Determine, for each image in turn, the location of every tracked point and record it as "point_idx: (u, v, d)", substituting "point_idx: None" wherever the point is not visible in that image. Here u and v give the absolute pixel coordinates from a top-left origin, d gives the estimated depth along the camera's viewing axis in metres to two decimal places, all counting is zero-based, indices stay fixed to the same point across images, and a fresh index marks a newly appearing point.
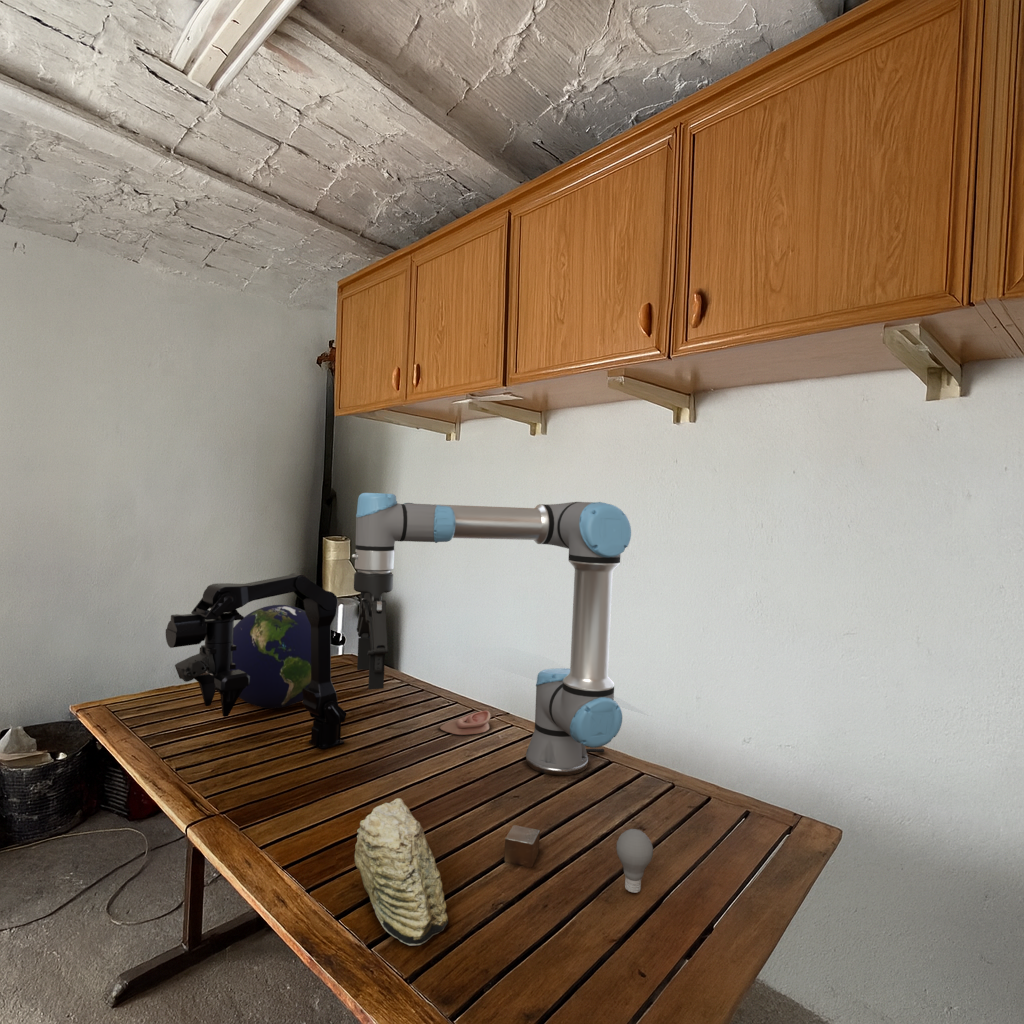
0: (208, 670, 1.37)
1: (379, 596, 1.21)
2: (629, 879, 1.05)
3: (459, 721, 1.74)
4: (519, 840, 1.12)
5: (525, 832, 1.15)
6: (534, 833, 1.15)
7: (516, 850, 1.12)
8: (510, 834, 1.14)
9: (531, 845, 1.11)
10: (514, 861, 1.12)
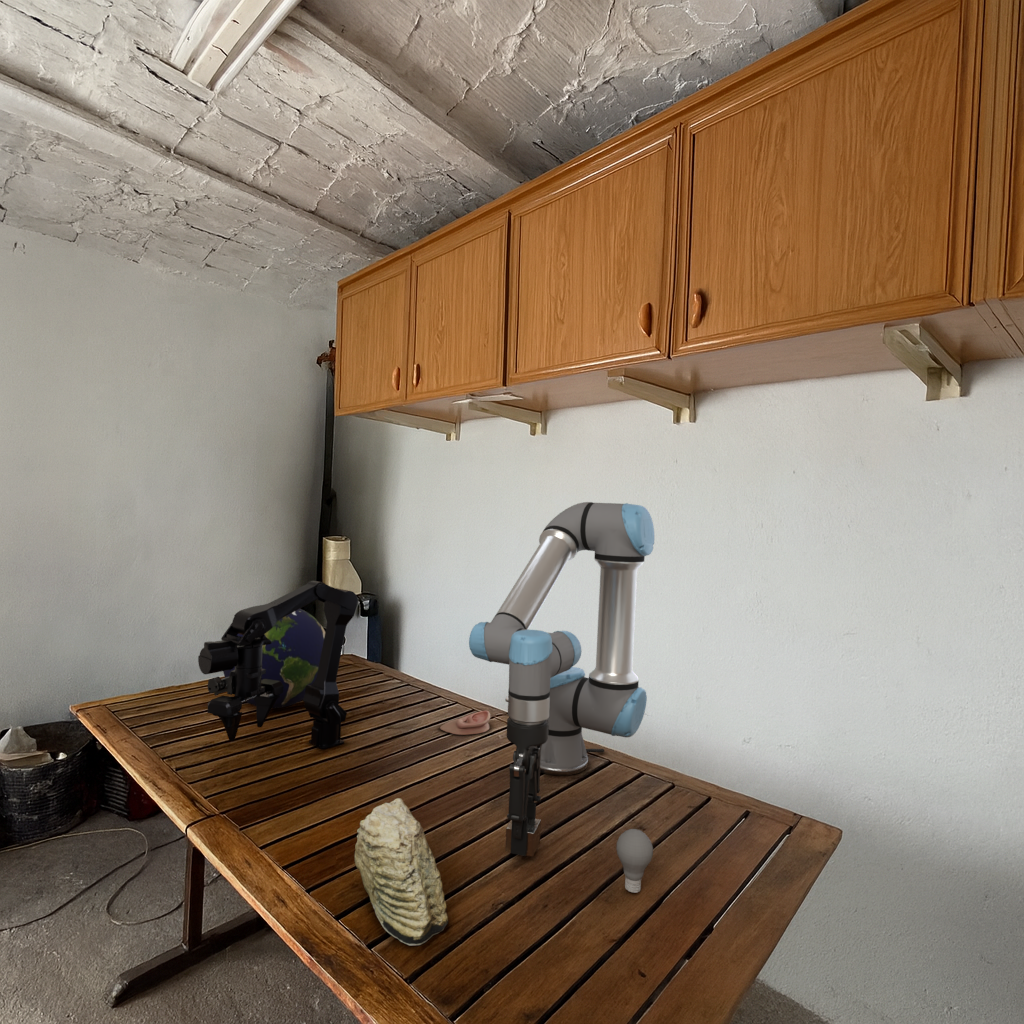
0: None
1: (524, 750, 1.10)
2: (629, 879, 1.05)
3: (459, 721, 1.74)
4: None
5: None
6: (535, 822, 1.15)
7: None
8: (511, 824, 1.14)
9: (532, 834, 1.11)
10: None
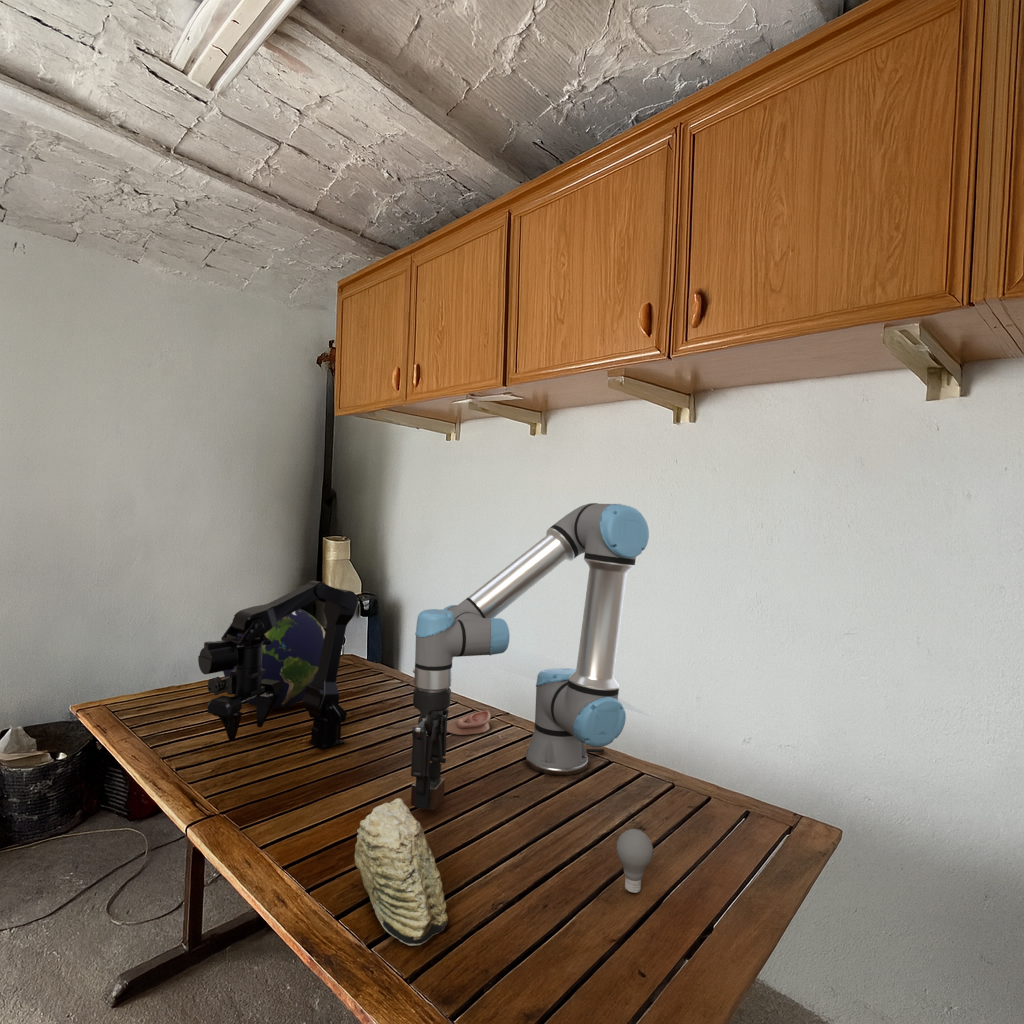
0: None
1: (426, 715, 1.24)
2: (629, 879, 1.05)
3: (459, 721, 1.74)
4: None
5: (430, 780, 1.29)
6: (439, 781, 1.29)
7: None
8: None
9: (434, 790, 1.25)
10: None
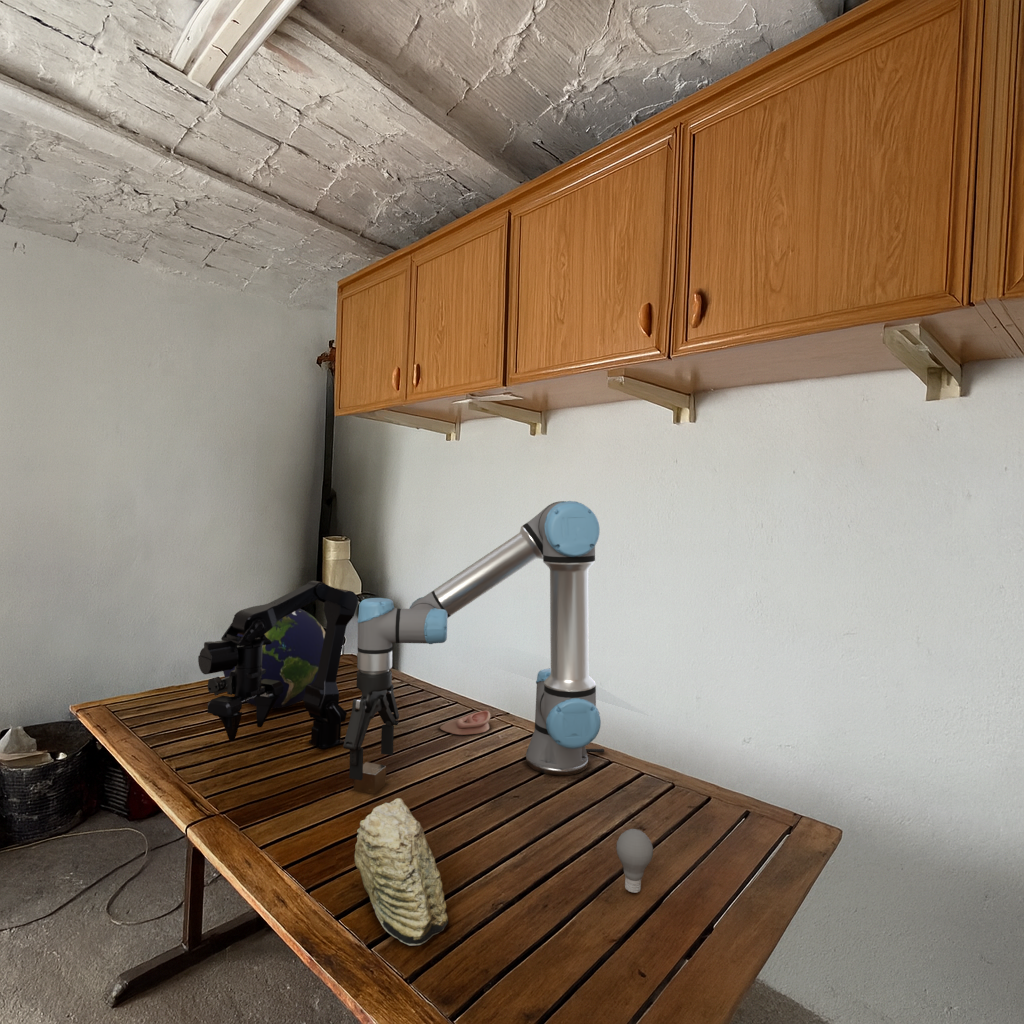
0: None
1: (367, 694, 1.35)
2: (629, 879, 1.05)
3: (459, 721, 1.74)
4: (365, 772, 1.37)
5: (373, 767, 1.40)
6: (380, 767, 1.39)
7: (363, 780, 1.37)
8: None
9: (374, 776, 1.36)
10: (361, 789, 1.37)
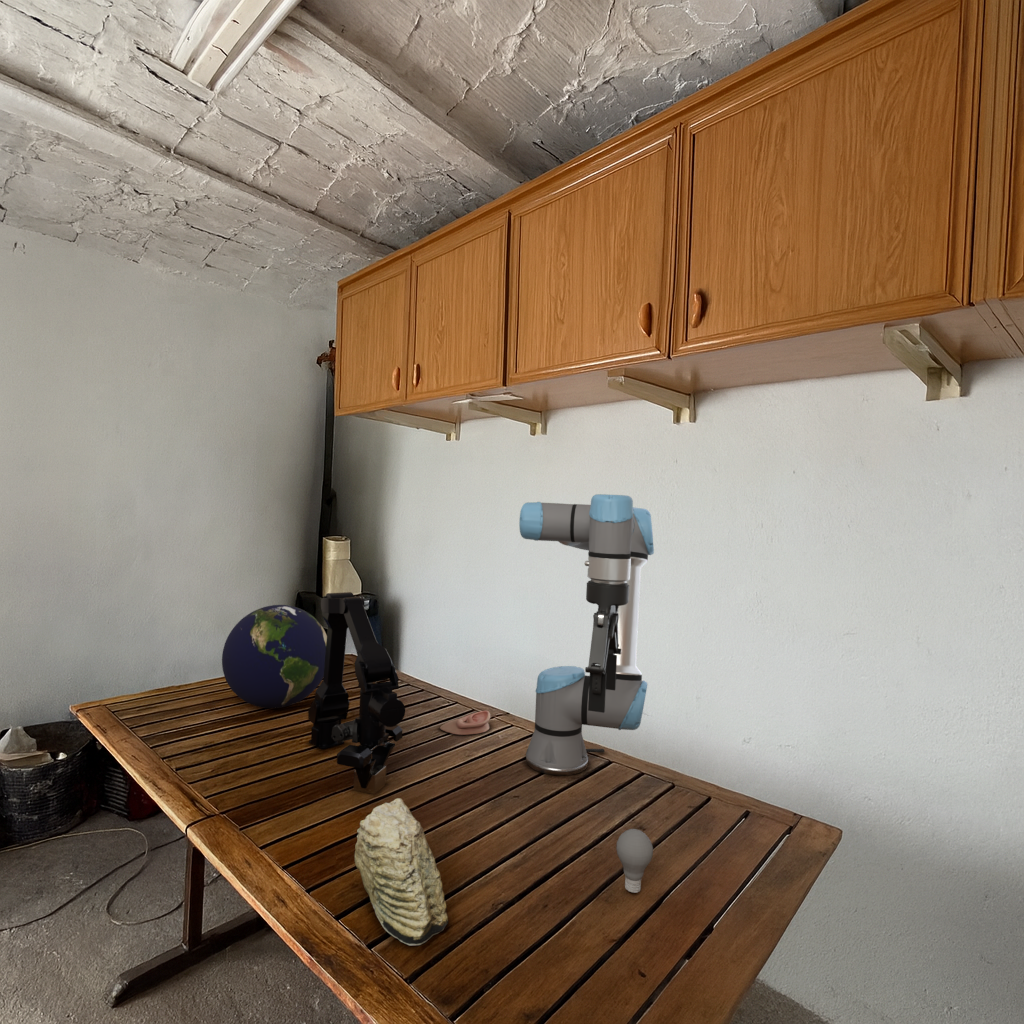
0: None
1: (607, 609, 1.09)
2: (629, 879, 1.05)
3: (459, 721, 1.74)
4: None
5: (373, 767, 1.39)
6: (380, 767, 1.39)
7: None
8: None
9: (374, 776, 1.36)
10: (361, 790, 1.37)
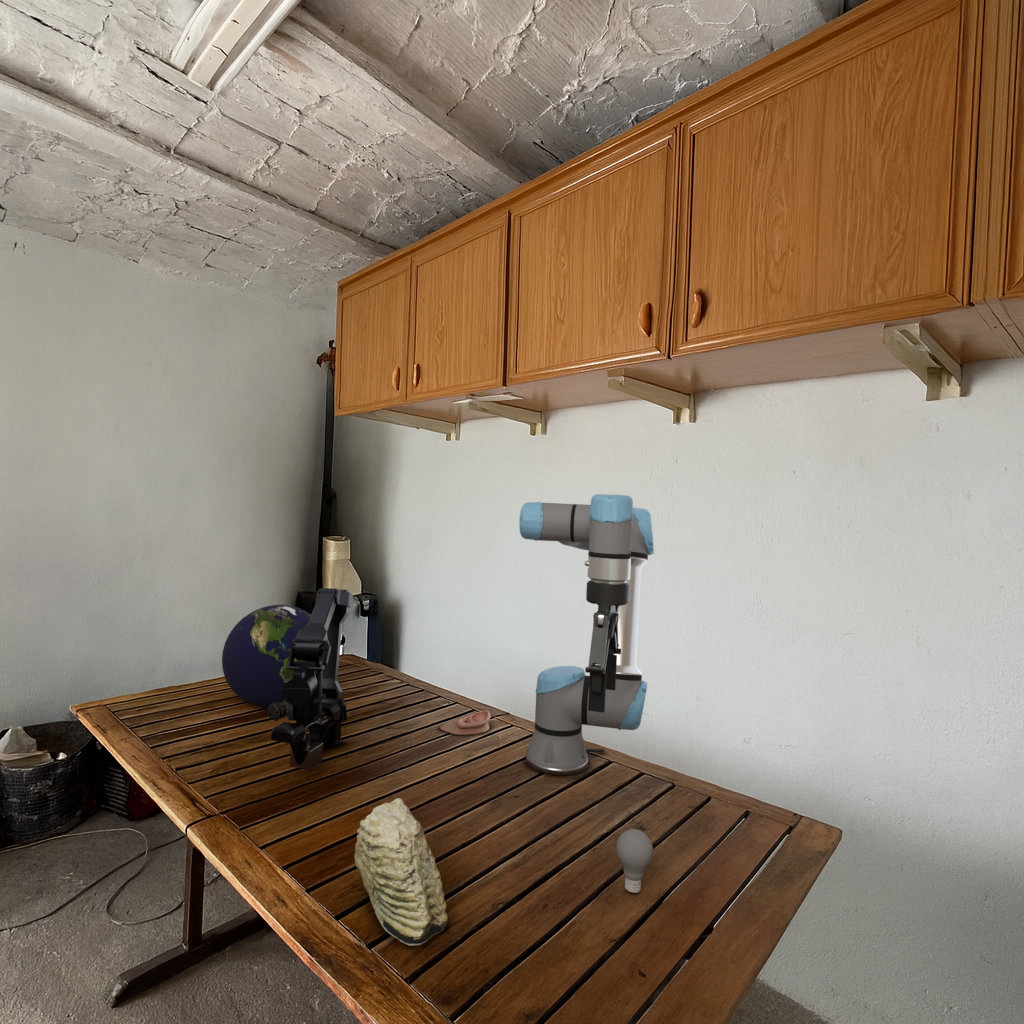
0: None
1: (607, 609, 1.09)
2: (629, 879, 1.05)
3: (459, 721, 1.74)
4: None
5: (309, 744, 1.43)
6: (317, 744, 1.43)
7: None
8: None
9: (309, 752, 1.39)
10: (297, 766, 1.40)
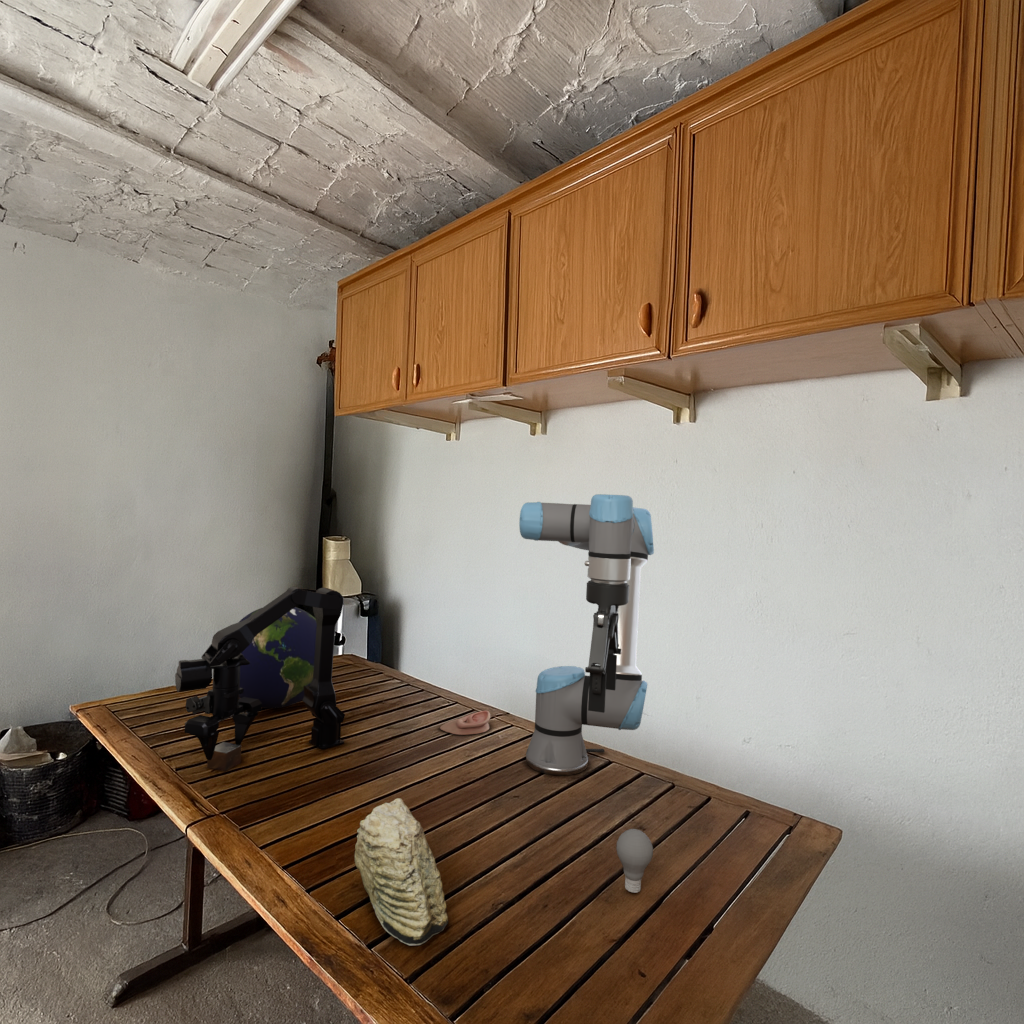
0: None
1: (607, 609, 1.09)
2: (629, 879, 1.05)
3: (459, 721, 1.74)
4: (217, 751, 1.44)
5: (227, 746, 1.47)
6: (235, 746, 1.47)
7: (215, 758, 1.44)
8: None
9: (225, 754, 1.44)
10: (213, 767, 1.45)
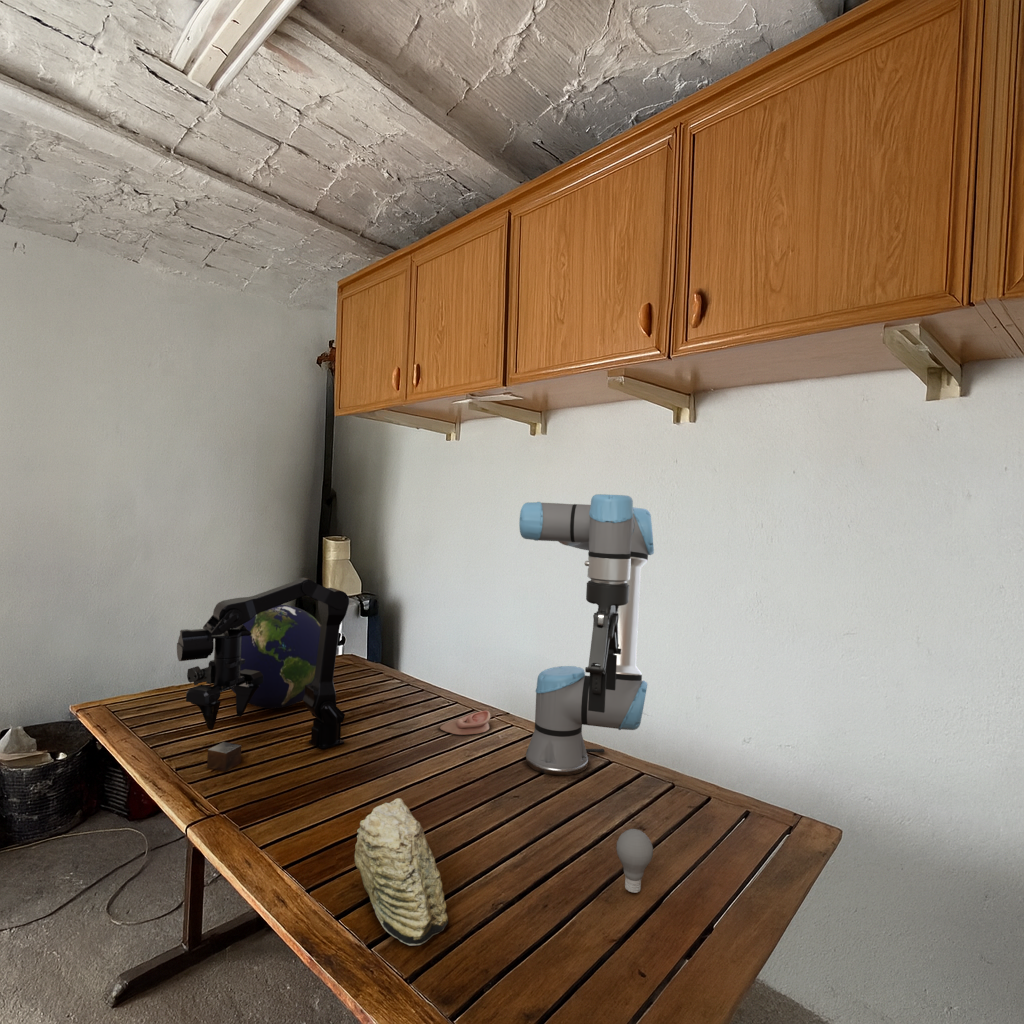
0: None
1: (607, 609, 1.09)
2: (629, 879, 1.05)
3: (459, 721, 1.74)
4: (217, 751, 1.44)
5: (227, 746, 1.47)
6: (235, 746, 1.47)
7: (215, 758, 1.44)
8: (214, 747, 1.46)
9: (225, 754, 1.44)
10: (213, 767, 1.45)
